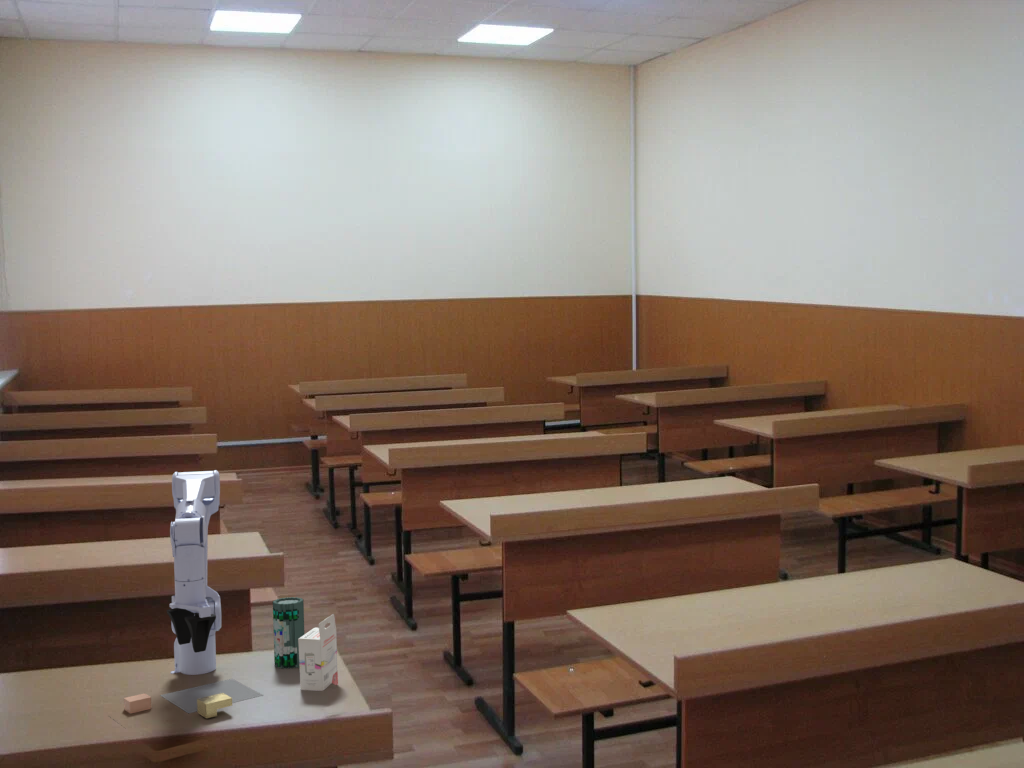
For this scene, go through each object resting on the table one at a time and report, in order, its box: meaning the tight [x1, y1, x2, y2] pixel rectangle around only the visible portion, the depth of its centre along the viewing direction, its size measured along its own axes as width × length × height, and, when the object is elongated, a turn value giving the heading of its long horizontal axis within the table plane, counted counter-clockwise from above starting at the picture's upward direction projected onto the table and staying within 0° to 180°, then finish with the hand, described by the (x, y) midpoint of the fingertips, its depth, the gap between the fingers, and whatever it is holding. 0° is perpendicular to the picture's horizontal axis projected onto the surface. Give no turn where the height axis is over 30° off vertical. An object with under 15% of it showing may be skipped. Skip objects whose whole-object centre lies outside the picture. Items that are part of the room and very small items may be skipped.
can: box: [272, 596, 306, 670], centre depth 227 cm, size 6×6×15 cm
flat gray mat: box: [159, 678, 264, 714], centre depth 208 cm, size 14×15×2 cm
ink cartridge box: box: [298, 613, 339, 692], centre depth 214 cm, size 9×5×15 cm, turn 168°
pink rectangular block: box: [108, 693, 152, 729], centre depth 201 cm, size 9×8×4 cm
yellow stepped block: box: [197, 693, 233, 719], centre depth 197 cm, size 4×5×3 cm
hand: (192, 647), depth 211 cm, fingers open, 7 cm apart
